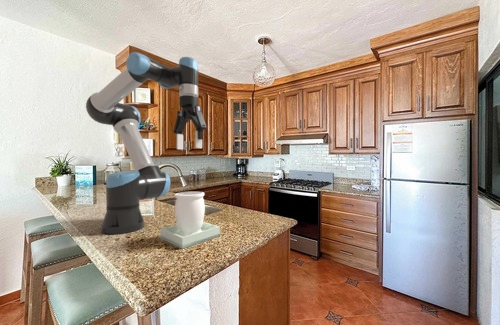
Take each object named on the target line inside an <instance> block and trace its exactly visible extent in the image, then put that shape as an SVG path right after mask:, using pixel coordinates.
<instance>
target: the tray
mask: <svg viewBox="0 0 500 325" xmlns="http://www.w3.org/2000/svg"><path fill="white" fill-rule="evenodd" d="M159 230H160V231H159V232H160V233H159V234H160V236H159V237H160V239H161V240H163V241H164V242H167V243H169V244H171V245H173V246H175V247H177V248H180V249H181V250H184V249H187V248H189V247H190V248H191V247H193V246H195V245H198V244H199V245H200V244H202V243H205V242H207V241H210V240H213V239H216V238H219V237H220V236H221V227H220V226H219V225H216V224H213V223H212V224H211V223H210V222H209V223H208V222H205V221H203V224H202V227H201V232H198V233H194V234H191V235H188V236H184V237H183V236H180V235H178V233H179V231H180V230H179V229H178V227H177V224H174V225H170V226H166V227H162V228H160V229H159Z"/></svg>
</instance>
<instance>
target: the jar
mask: <svg viewBox="0 0 500 325" xmlns="http://www.w3.org/2000/svg"><path fill="white" fill-rule="evenodd" d="M174 196H175V198H176V201H175V204H174V205H175V206H174V215H175V220H176V223H175V224H176V225H177V227H178V229H179V230H180V231H179V233H178V235H180V236H183V237H184V236H188V235H191V234H194V233H198V232H201V227H202V224H203V222H204V218H205V213H206V208H205V207H206V206H205V199H204V196H205V192H203V191H194V190H193V191H181V192H177V193H175V194H174Z"/></svg>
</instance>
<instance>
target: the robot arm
mask: <svg viewBox="0 0 500 325" xmlns="http://www.w3.org/2000/svg"><path fill="white" fill-rule="evenodd" d="M125 66H126V68H125V69H124V70H122V71H121V72H120V73H119V74H118V75H116V77H115V78H113V80H111V81H110V82H109V83H108V84H107V85H105V86H104V87H103V88H102V89H101V90H100V91H99V92H94V93H92V94H91V95H90V96H89V97H88V98H87V99H86V103H85V110H86V112H87V114H88V116H89V117H90V118H91V119H92V120H93V121H95V122H96V123H99V124H102V125H107V126H112V127H113V129H114V132H116V133H117V134H119V136H120V138H121V140H122V142H123V144H124V146H125V150H126V151H127V154H128V156H129V158H130V160H131V161H130V162H131V163H132V166H133V168H134V170H123V171H118V172H112V173H110V174H109V175H107V177H106V184H105V187H106V189H105V190H106V192H105V193H106V199H105V200H106V201H105V203H106V212H105V214H104V217H103V220H102V222H101V226H100V228H101V229H100V231H101V233H102V234H104V235H105V234H106V235H109V234H110V235H118V234H119V235H121V234H126V233H132V232H135V231H139V230H141V229H142V228H144V227H145V220H144V217H143V215H142V211H141V209H140V201H142V200H148V199H149V200H150V199H157V198H160V197H163V196H165V195H167V193H168V192H169V191H170V189H171V188H170V187H171V178H170V175H169V174H168V173H167V172H165V171H161V169H160V166H159V165H158V164H154V161H153V159H152V156H151V155H150V152H149V150H148V148H147V146H146V144H145V141H144V139H143V137H142V135H141V133H140V130H139V127H140V124H141V120H142V119H141V117H142V116H141V113H140V111H139V110H138V108H137V107H135V106H132V105H130V104H127V103H126V104H125V103H120V102H121V101H123V100H124V99H125V98H126V97H128V96H129V95H130V94H131V93H133V92H134V91H135V90H136V89H138V88H139V87H140V86H141V85H143V84H144V83H145V82H147V81H148V80H150V81H152V82H156V83H157V84H158V85H159V86H160V87H161V88H162V89H173V88H177V87H178V89H179V92H178V93H179V102H178V103H179V104H178V105H179V107H181V110H177V113H176V114H177V115H176V120H175V124H174V128H173V134H175V135H176V150H184V133H183V132H184V130H185V128H186V126H187V124H188V122H189V121H191V122H192V125H193V126H194V128H195V131H194V132H195V134H194V135H195V139H194V141H195V143H194V145H195V146H194V147H195V149H203V139H204V134H203V133H204V131H205V130H207V125H206V122H205V119H204V115H203V112H202V107H201V106H199V72H200V71H199V64H198V61H197V59H195V58H193V57H192V56H191V57H189V56H182V57H181V58H180V59H179V60H178V66H173V67H170V66H168V65H166V64H164V63H161V62H159V61H156V60H154V59H153V58H151V57H148V56H147V55H145V54H142V53H140V52H138V51H137V52H136V51H133V52H130V53H129V54H128V57H126V62H125Z"/></svg>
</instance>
